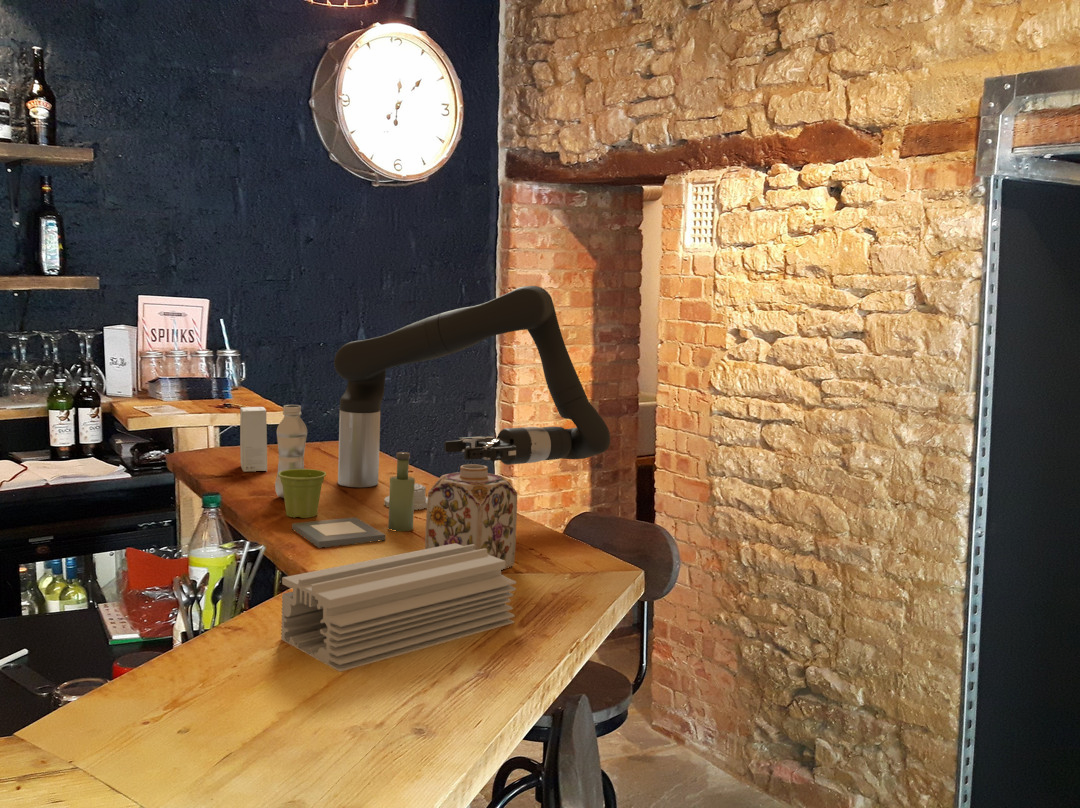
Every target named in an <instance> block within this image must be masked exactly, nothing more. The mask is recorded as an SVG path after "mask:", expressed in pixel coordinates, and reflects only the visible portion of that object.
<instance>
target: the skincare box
mask: <svg viewBox="0 0 1080 808" xmlns="http://www.w3.org/2000/svg"><path fill="white" fill-rule="evenodd" d="M239 411H240V412H239V413H240V416H239V417H240V418H239V419H240V421H239V427H240V429H239V431H240V432H239V433H240V434H239V435H240V436H239V438H240V439H239V441H240V442H239V443H240V445H239V446H240V447H239V449H240V452H239V453H240V467H241V470H242V471H243V472H244V473H245V472H256V471H266V472H268V436H267V435H268V433H267V427H268V426H267V424H268V423H267V409H266V408H265V407H264V406H245V407H244V406H243V407H240V409H239Z"/></svg>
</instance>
